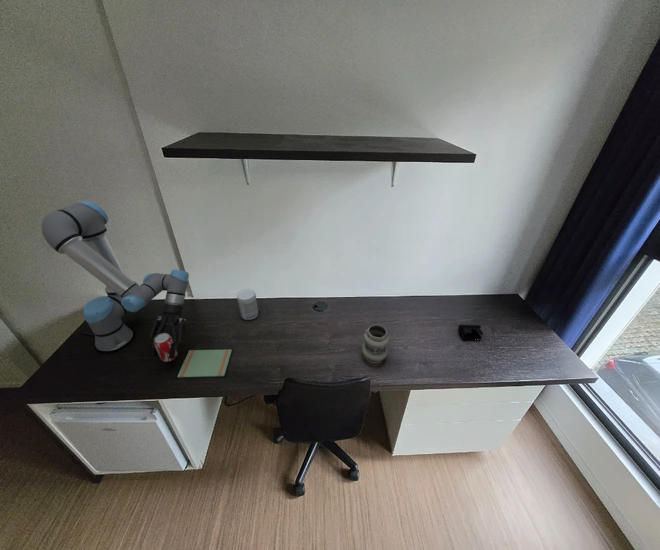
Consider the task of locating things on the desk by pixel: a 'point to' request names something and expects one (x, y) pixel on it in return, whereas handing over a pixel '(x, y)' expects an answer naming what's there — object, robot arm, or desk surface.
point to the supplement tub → (247, 304)
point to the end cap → (469, 332)
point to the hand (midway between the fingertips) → (162, 357)
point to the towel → (205, 363)
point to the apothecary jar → (375, 345)
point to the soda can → (164, 346)
